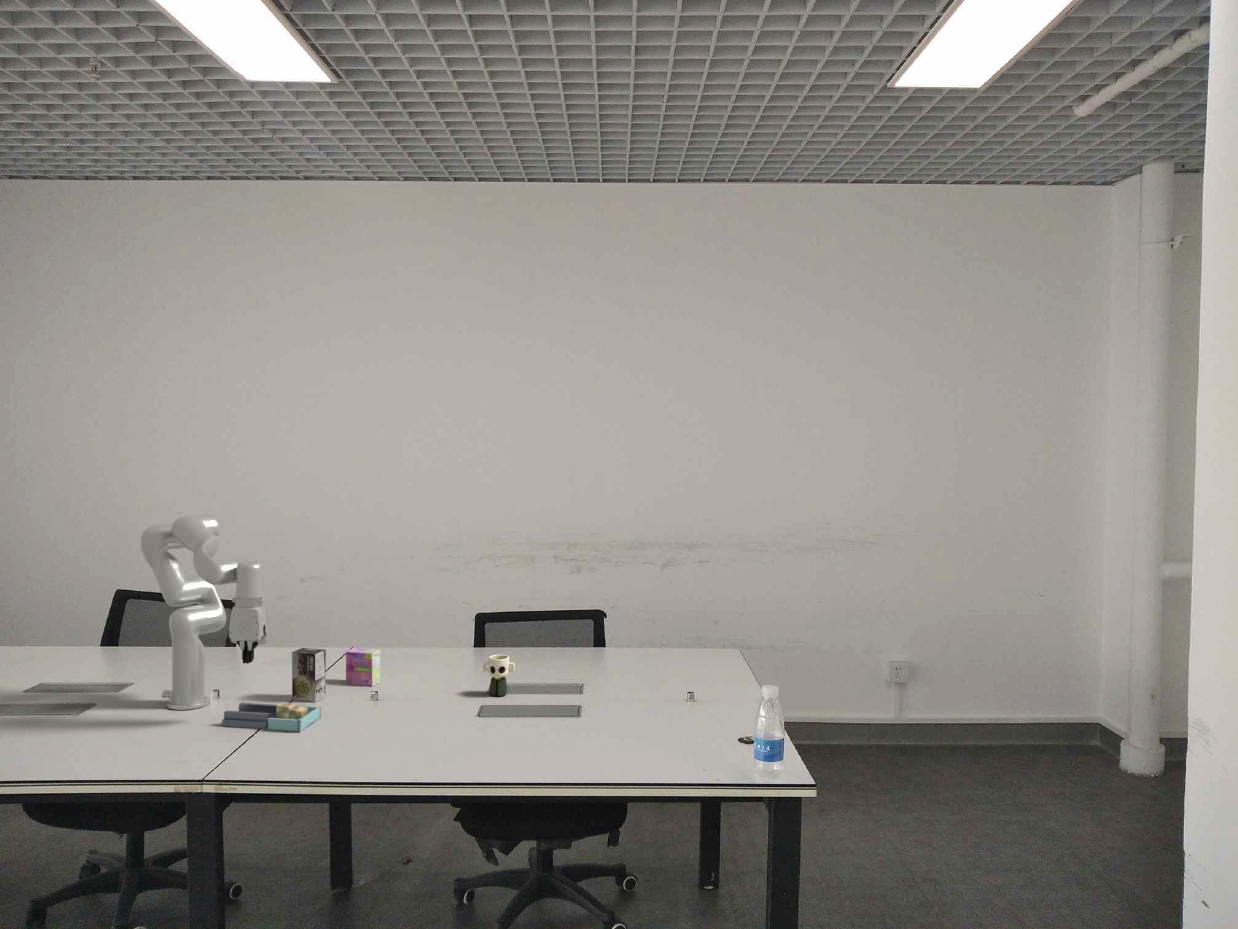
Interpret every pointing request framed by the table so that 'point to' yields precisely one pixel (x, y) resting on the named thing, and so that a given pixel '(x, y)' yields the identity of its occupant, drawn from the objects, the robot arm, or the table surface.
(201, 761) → the table surface
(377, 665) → the box
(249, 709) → the slot rail
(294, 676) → the coffee box
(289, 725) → the tray
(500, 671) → the character mug
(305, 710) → the chip
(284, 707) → the chip
